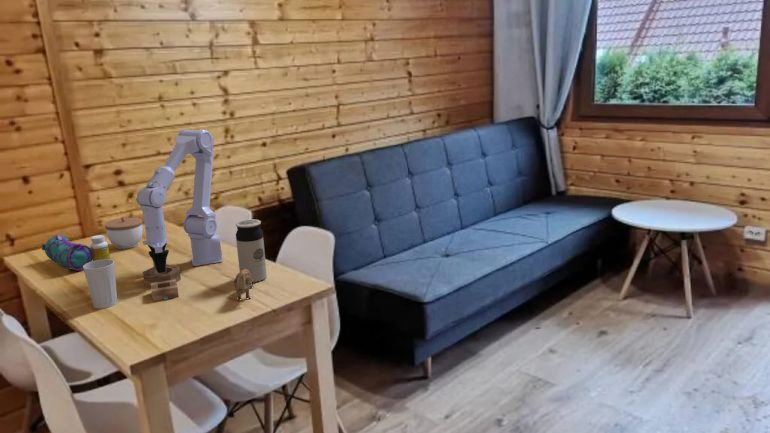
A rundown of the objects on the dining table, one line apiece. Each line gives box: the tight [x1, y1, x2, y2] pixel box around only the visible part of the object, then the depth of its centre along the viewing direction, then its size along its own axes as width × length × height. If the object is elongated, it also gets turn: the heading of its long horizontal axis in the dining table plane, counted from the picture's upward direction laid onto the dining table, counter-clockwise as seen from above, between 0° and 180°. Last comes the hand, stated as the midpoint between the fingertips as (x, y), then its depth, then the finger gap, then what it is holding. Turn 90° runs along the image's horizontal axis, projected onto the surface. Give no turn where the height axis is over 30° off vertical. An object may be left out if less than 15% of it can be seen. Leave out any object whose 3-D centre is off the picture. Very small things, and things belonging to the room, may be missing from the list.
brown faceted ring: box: [142, 264, 182, 287], centre depth 186 cm, size 10×10×3 cm
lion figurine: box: [233, 269, 254, 301], centre depth 172 cm, size 15×5×9 cm, turn 15°
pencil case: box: [41, 233, 93, 272], centre depth 203 cm, size 21×9×10 cm, turn 49°
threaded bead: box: [150, 279, 179, 302], centre depth 175 cm, size 7×7×3 cm
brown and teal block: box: [152, 250, 167, 275], centre depth 186 cm, size 4×4×10 cm
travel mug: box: [235, 218, 268, 283], centre depth 183 cm, size 8×8×18 cm
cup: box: [83, 258, 119, 309], centre depth 169 cm, size 8×8×12 cm
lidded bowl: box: [104, 216, 144, 250], centre depth 221 cm, size 13×13×11 cm
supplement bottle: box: [90, 234, 111, 261], centre depth 202 cm, size 5×5×10 cm
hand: (161, 268), depth 186 cm, fingers open, 7 cm apart
